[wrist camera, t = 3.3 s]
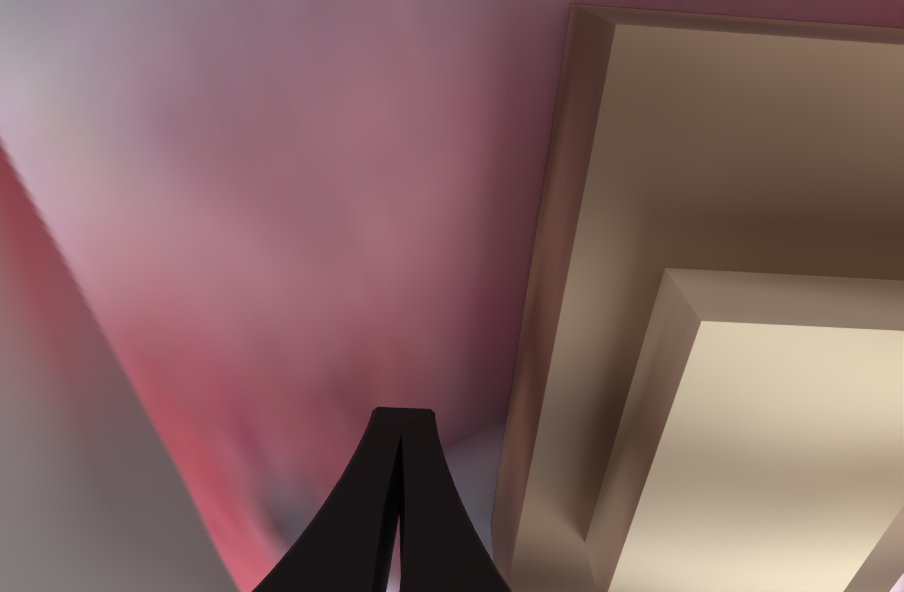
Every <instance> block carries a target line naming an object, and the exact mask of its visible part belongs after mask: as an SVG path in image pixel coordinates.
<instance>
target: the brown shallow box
mask: <svg viewBox="0 0 904 592" xmlns="http://www.w3.org/2000/svg"><path fill="white" fill-rule="evenodd" d="M665 268H677V269H696V270H715V271H733V272H752V273H771V274H790V275H808V276H827V277H846V278H865V279H883V280H902V281H904V28H892V27H878V26H865V25H851V24H838V23H824V22H811V21H797V20H783V19H770V18H756V17H743V16H729V15H716V14H702V13H689V12H675V11H662V10H648V9H635V8H621V7H608V6H594V5H581V4H571V7H570V13H569V20H568V26H567V33H566V39H565V46H564V52H563V58H562V65H561V71H560V78H559V84H558V91H557V97H556V104H555V110H554V117H553V123H552V130H551V136H550V143H549V149H548V156H547V162H546V169H545V175H544V182H543V188H542V195H541V201H540V207H539V214H538V220H537V227H536V233H535V240H534V246H533V253H532V259H531V266H530V272H529V279H528V285H527V292H526V298H525V305H524V311H523V318H522V324H521V331H520V337H519V344H518V350H517V357H516V363H515V369H514V376H513V382H512V389H511V395H510V402H509V408H508V415H507V421H506V428H505V434H504V441H503V447H502V454H501V460H500V467H499V473H498V480H497V486H496V493H495V499H494V506H493V512H492V518H491V534H492V546H493V558H494V564H495V566H496V568H497V570H498V571H499V573H500V574H501V576H502V577H503V579H504V580H505V582H506V583H507V585H508V586H509V588H510V589H511V591H512V592H597V590H596V586H595V582H594V578H593V573H592V569H591V565H590V561H589V557H588V552H587V548H586V544H585V541H586V538H587V535H588V531H589V528H590V524H591V521H592V517H593V514H594V510H595V507H596V504H597V500H598V497H599V493H600V490H601V486H602V483H603V479H604V476H605V473H606V469H607V466H608V462H609V459H610V455H611V452H612V448H613V445H614V442H615V438H616V435H617V431H618V428H619V424H620V421H621V417H622V414H623V411H624V407H625V404H626V400H627V397H628V393H629V390H630V386H631V383H632V379H633V376H634V373H635V369H636V366H637V362H638V359H639V355H640V352H641V348H642V345H643V342H644V338H645V335H646V331H647V328H648V324H649V321H650V317H651V314H652V311H653V307H654V304H655V300H656V297H657V293H658V290H659V286H660V283H661V280H662V276H663V273H664V269H665ZM903 573H904V505H903V507H902V508H901V510H900V511H899V513H898V514H897V515H896V517H895V518H894V520H893V521H892V523H891V524H890V525H889V527H888V528H887V530H886V531H885V533H884V534H883V535H882V537H881V538H880V540H879V541H878V543H877V544H876V546H875V547H874V548H873V550H872V551H871V553H870V554H869V556H868V557H867V558H866V560H865V561H864V563H863V564H862V566H861V567H860V568H859V570H858V571H857V573H856V574H855V576H854V577H853V578H852V580H851V581H850V583H849V584H848V586H847V587H846V589H845V590H844V591H843V592H889V591H890V590H891V589H892V587H893V586H894V585H895V583H896V582H897V581H898V579H899V578H900V577H901V575H902V574H903Z"/></svg>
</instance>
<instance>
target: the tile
mask: <svg viewBox="0 0 904 592" xmlns="http://www.w3.org/2000/svg"><path fill="white" fill-rule="evenodd" d="M903 505H904V281H902V280H883V279H865V278H846V277H827V276H808V275H790V274H771V273H752V272H733V271H715V270H696V269H677V268H665V269H664V273H663V276H662V280H661V283H660V286H659V290H658V293H657V297H656V300H655V304H654V307H653V311H652V314H651V317H650V321H649V324H648V328H647V331H646V335H645V338H644V342H643V345H642V348H641V352H640V355H639V359H638V362H637V366H636V369H635V373H634V376H633V379H632V383H631V386H630V390H629V393H628V397H627V400H626V404H625V407H624V411H623V414H622V417H621V421H620V424H619V428H618V431H617V435H616V438H615V442H614V445H613V448H612V452H611V455H610V459H609V462H608V466H607V469H606V473H605V476H604V479H603V483H602V486H601V490H600V493H599V497H598V500H597V504H596V507H595V510H594V514H593V517H592V521H591V524H590V528H589V531H588V535H587V538H586V541H585V544H586V548H587V552H588V557H589V561H590V565H591V569H592V573H593V578H594V582H595V586H596V590H597V592H843V591H844V590H845V589H846V587H847V586H848V584H849V583H850V581H851V580H852V578H853V577H854V576H855V574H856V573H857V571H858V570H859V568H860V567H861V566H862V564H863V563H864V561H865V560H866V558H867V557H868V556H869V554H870V553H871V551H872V550H873V548H874V547H875V546H876V544H877V543H878V541H879V540H880V538H881V537H882V535H883V534H884V533H885V531H886V530H887V528H888V527H889V525H890V524H891V523H892V521H893V520H894V518H895V517H896V515H897V514H898V513H899V511H900V510H901V508H902V507H903Z"/></svg>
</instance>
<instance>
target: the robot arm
mask: <svg viewBox="0 0 904 592" xmlns="http://www.w3.org/2000/svg"><path fill="white" fill-rule="evenodd" d="M399 516H400V560H401V581H400V592H512V591H511V589H510V588H509V586H508V585H507V583H506V582H505V580H504V579H503V577H502V576H501V574H500V573H499V571H498V570H497V568H496V566H495V564H494V563H493V561H492V559H491V558H490V556H489V554H488V553H487V551H486V549H485V547H484V545H483V544H482V542H481V540H480V538H479V536H478V534H477V533H476V531H475V529H474V527H473V525H472V523H471V521H470V519H469V517H468V514H467V512H466V510H465V508H464V506H463V503H462V501H461V499H460V497H459V494H458V492H457V490H456V487H455V485H454V482H453V479H452V477H451V474H450V471H449V469H448V466H447V463H446V460H445V457H444V454H443V451H442V447H441V444H440V440H439V436H438V432H437V426H436V420H435V413H434V412H433V411H432V410H431V409H415V408H391V407H377V408H376V409H374V410H373V412H372V415H371V418H370V421H369V423H368V426H367V428H366V431H365V433H364V435H363V437H362V439H361V441H360V443H359V445H358V447H357V449H356V451H355V453H354V455H353V457H352V458H351V460H350V462H349V464H348V466H347V467H346V469H345V471H344V473H343V474H342V476H341V478H340V479H339V481H338V483H337V484H336V486H335V487H334V489H333V490H332V492H331V493H330V495H329V496H328V498H327V500H326V501H325V503H324V504H323V506H322V507H321V509H320V510H319V511H318V513H317V514H316V516H315V517H314V519H313V520H312V521H311V523H310V524H309V525H308V527H307V528H306V529H305V531H304V532H303V533H302V534H301V536H300V537H299V538H298V540H297V541H296V542H295V543H294V545H293V546H292V547H291V548H290V549H289V551H288V552H287V553H286V554H285V555H284V556H283V558H282V559H281V560H280V561H279V562H278V564H277V565H276V566H275V567H274V568H273V569H272V570H271V572H270V573H269V574H268V575H267V576H266V577H265V578H264V579H263V580H262V581H261V583H260V584H259V585H258V586H257V587H256V588H255V589H254V590H253V591H252V592H386V590H387V584H388V578H389V572H390V566H391V560H392V554H393V548H394V542H395V536H396V530H397V524H398V518H399Z"/></svg>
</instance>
